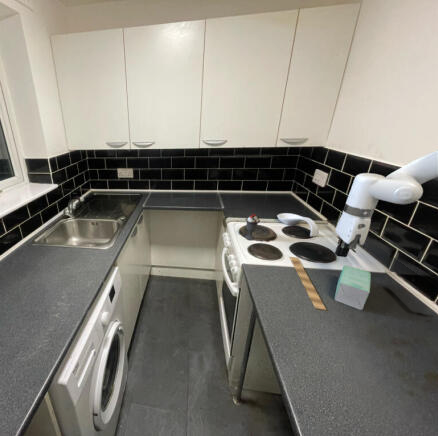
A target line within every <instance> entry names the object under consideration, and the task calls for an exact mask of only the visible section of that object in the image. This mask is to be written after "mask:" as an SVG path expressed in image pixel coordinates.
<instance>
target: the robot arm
mask: <svg viewBox="0 0 438 436" xmlns="http://www.w3.org/2000/svg"><path fill="white" fill-rule="evenodd" d="M437 178H438V150H435V151H433V152H431V153H428V154H426V155H424V156H420V157H419V158H417V159H415V160H413V161H411V162H409V163H406V164H405V165H404V166H401V167H400V168H398V169H396V170H394V171H393V172H391V173H390V174H388V175H387V176H384V175H381V174H378V173H370V172H363V173H359V174H357V175H356V176H355V177H354V179H353V183H352V185H351V189H350V191H349V193H348V196H347V198H346V202H345V204H344V207H343V209H342V214H341V216H340V217H339V220H338V222H337V225H336V228H335V233H336V234H337V237H338V240H337V246H336V249H335V252H334V255H335V256H336V257H341V258H347V257H348V255H349V252H350V250H356V249H357V246H358V245H359V246H363V245H364V244H365V242H366V240H367V237H368V234H369V230H370V228H371V221H372V216H373V214H374V212H375V209H376V207H377V205H378V202H379V200H381V201H384V202H388V203H392V204H397V205H408V204H412V203H415V202H417V201H418V200H420V199H421V198H422V196H423V193H424V188H423V187H422V184H424V183H426V182H428V181H431V180H434V179H437Z"/></svg>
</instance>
